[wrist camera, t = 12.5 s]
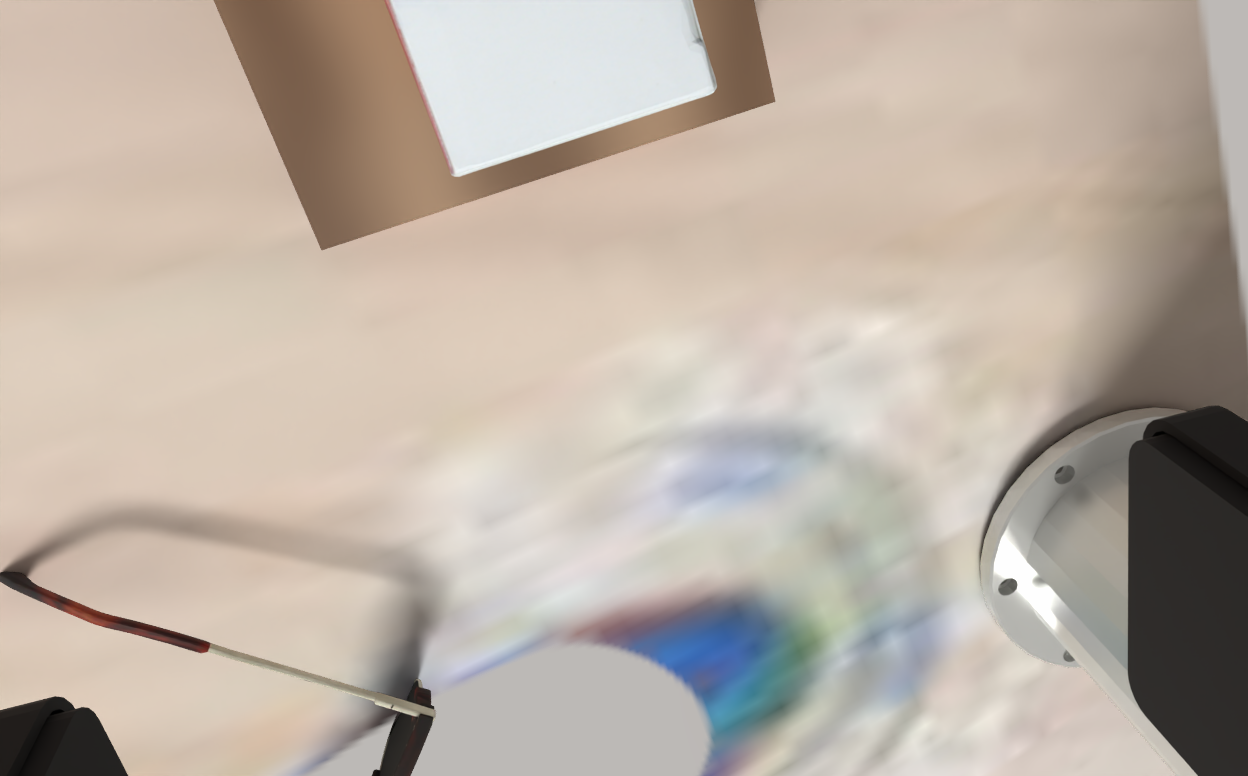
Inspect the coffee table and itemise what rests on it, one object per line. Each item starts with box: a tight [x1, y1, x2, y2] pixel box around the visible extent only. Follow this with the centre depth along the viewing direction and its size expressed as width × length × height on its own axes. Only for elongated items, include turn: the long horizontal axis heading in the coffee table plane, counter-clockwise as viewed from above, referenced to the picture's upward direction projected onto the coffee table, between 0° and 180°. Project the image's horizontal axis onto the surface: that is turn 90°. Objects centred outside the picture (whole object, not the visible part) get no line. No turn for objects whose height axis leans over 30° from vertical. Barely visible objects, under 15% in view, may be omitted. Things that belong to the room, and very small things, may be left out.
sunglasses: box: [0, 572, 435, 776], centre depth 41 cm, size 14×16×5 cm
